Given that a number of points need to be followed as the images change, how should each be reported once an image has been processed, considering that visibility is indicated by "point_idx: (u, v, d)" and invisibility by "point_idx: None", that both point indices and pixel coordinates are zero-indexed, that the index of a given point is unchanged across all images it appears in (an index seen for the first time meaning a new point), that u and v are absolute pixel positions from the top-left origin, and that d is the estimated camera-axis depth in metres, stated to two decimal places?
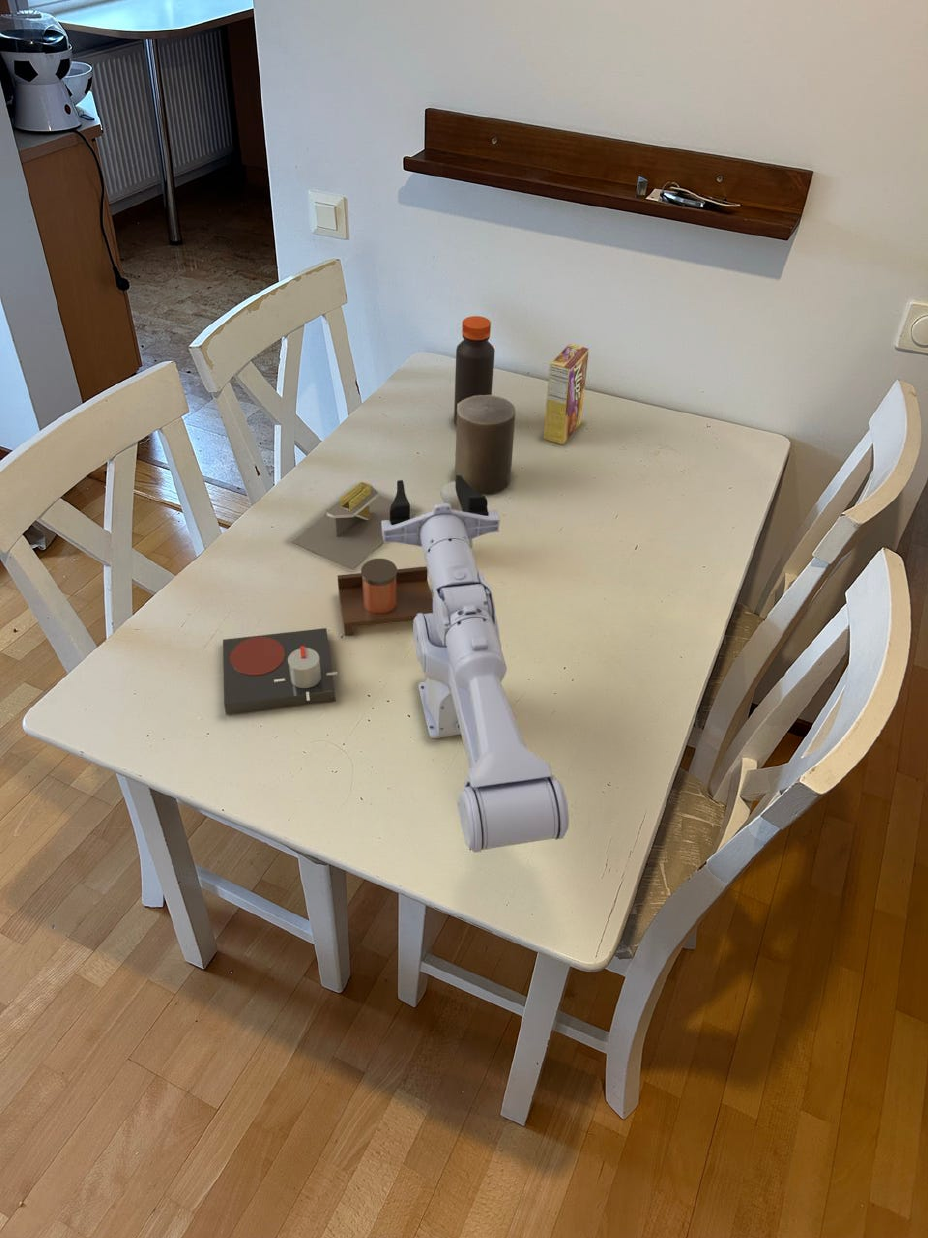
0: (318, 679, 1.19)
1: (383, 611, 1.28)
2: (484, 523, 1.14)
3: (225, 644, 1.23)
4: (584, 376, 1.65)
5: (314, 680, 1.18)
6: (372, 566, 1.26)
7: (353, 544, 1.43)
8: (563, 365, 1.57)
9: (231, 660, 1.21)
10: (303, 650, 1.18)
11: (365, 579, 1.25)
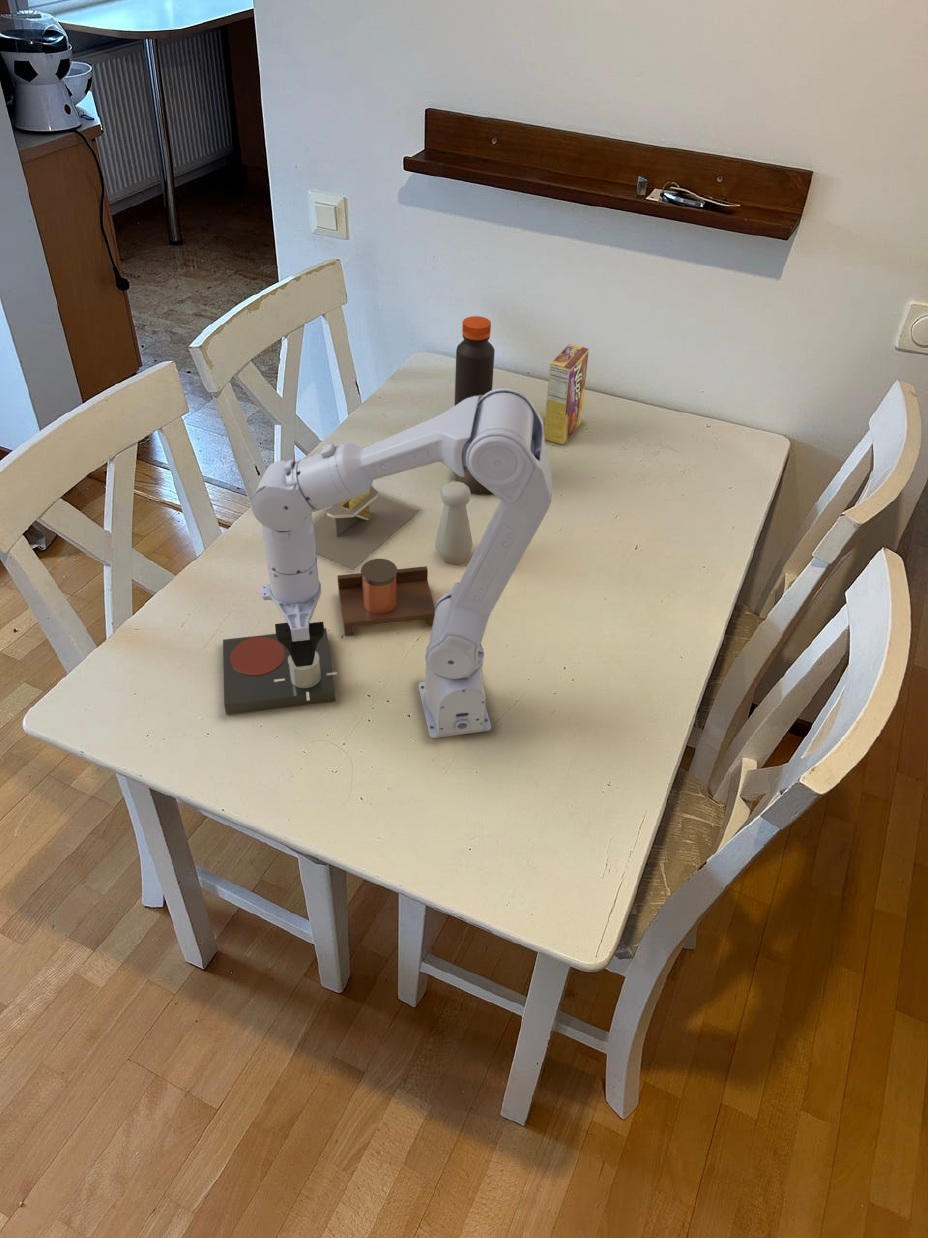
0: (318, 679, 1.19)
1: (383, 611, 1.28)
2: None
3: (225, 644, 1.23)
4: (584, 376, 1.65)
5: (314, 680, 1.18)
6: (372, 566, 1.26)
7: (353, 544, 1.43)
8: (563, 365, 1.57)
9: (231, 660, 1.21)
10: None
11: (365, 579, 1.25)
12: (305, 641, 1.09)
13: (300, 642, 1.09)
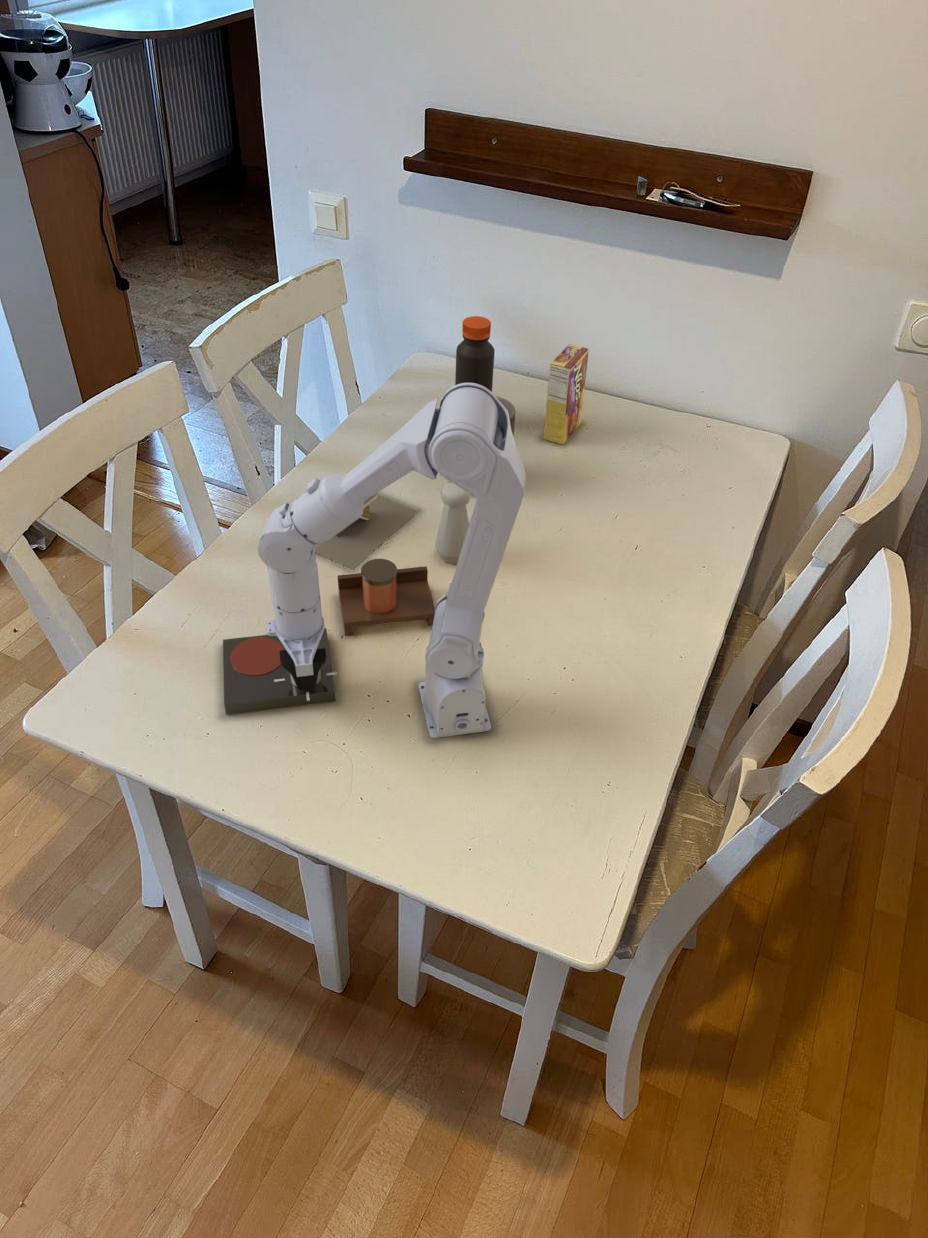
0: (318, 679, 1.19)
1: (383, 611, 1.28)
2: None
3: (225, 644, 1.23)
4: (584, 376, 1.65)
5: None
6: (372, 566, 1.26)
7: (353, 544, 1.43)
8: (563, 365, 1.57)
9: (231, 660, 1.21)
10: None
11: (365, 579, 1.25)
12: None
13: None
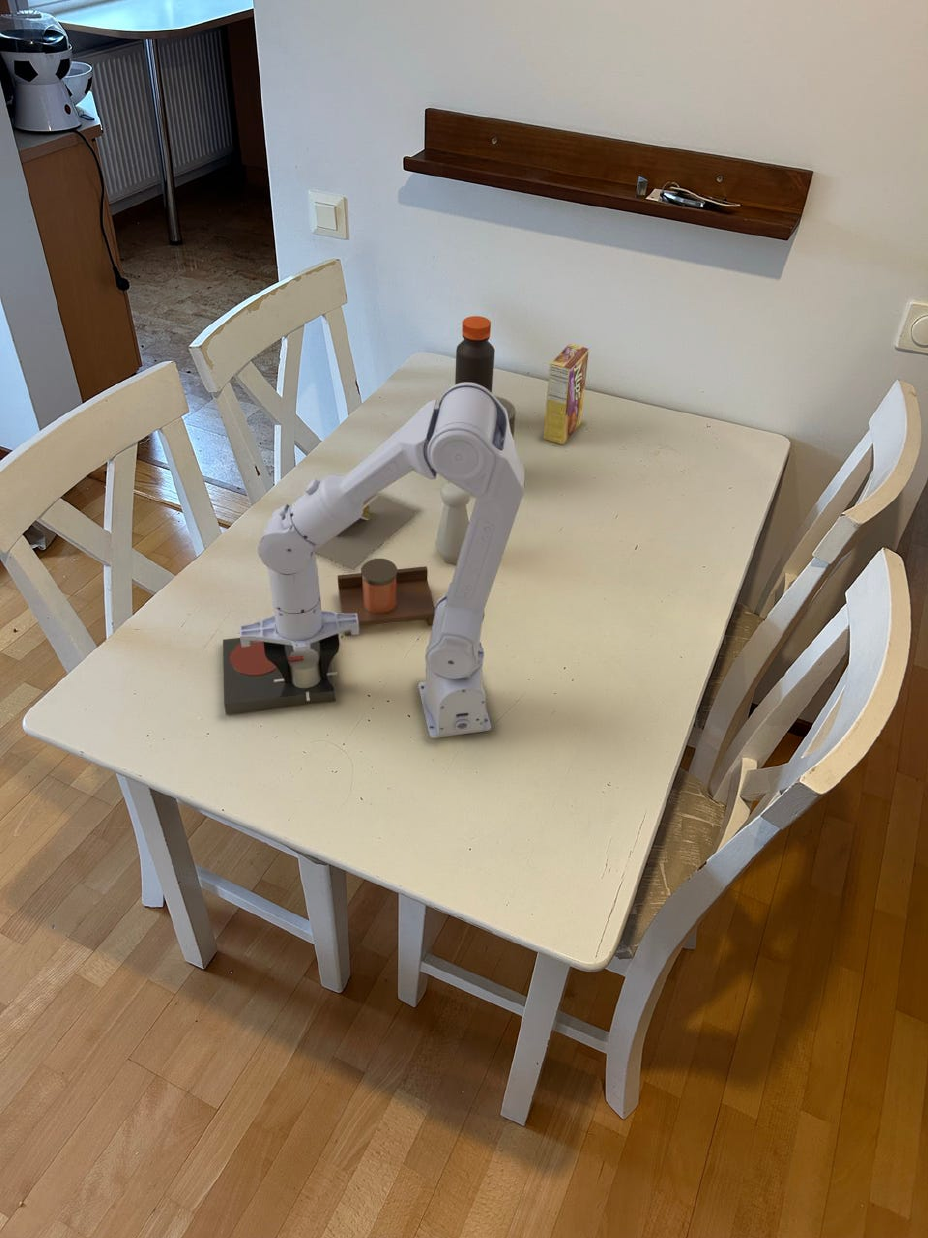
0: None
1: (383, 611, 1.28)
2: (254, 632, 1.12)
3: (225, 644, 1.23)
4: (584, 376, 1.65)
5: None
6: (372, 566, 1.26)
7: (353, 544, 1.43)
8: (563, 365, 1.57)
9: (231, 660, 1.21)
10: (294, 657, 1.17)
11: (365, 579, 1.25)
12: None
13: None
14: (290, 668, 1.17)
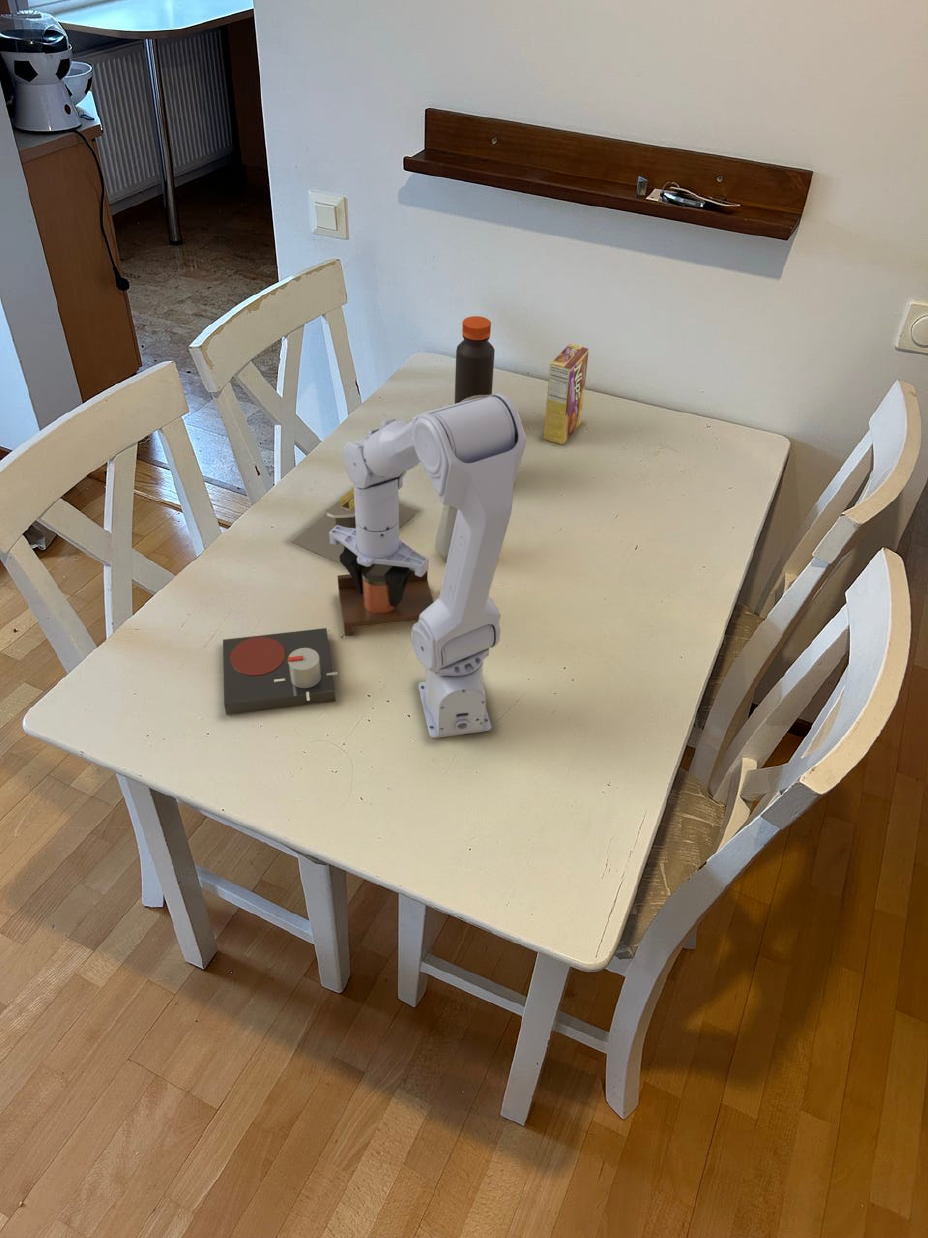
0: None
1: (383, 611, 1.28)
2: (343, 535, 1.25)
3: (225, 644, 1.23)
4: (584, 376, 1.65)
5: None
6: (372, 566, 1.26)
7: None
8: (563, 365, 1.57)
9: (231, 660, 1.21)
10: (294, 657, 1.17)
11: (365, 579, 1.25)
12: None
13: None
14: (290, 668, 1.17)
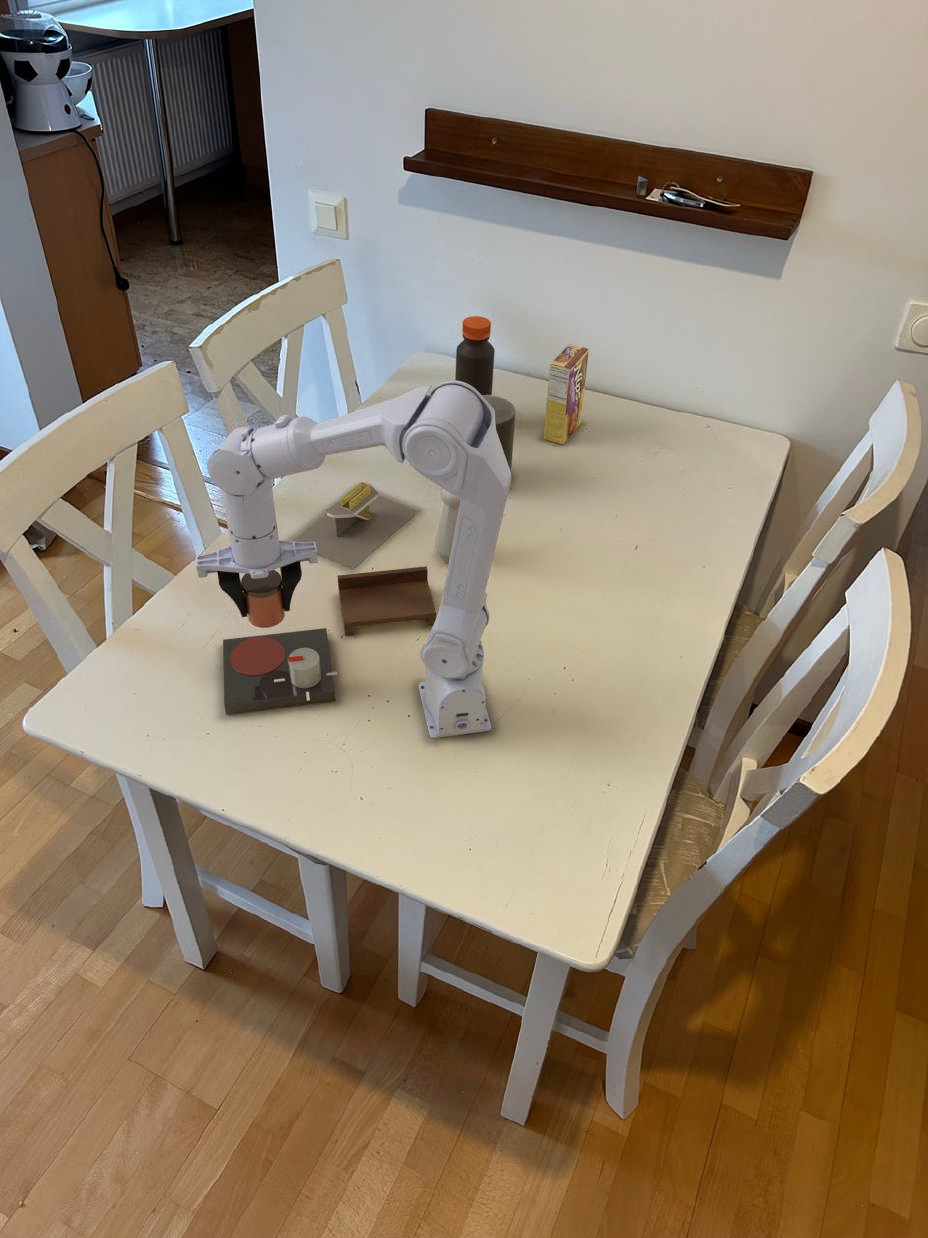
0: None
1: (280, 620, 1.18)
2: (211, 562, 1.11)
3: (225, 644, 1.23)
4: (584, 376, 1.65)
5: None
6: (251, 580, 1.15)
7: (353, 544, 1.43)
8: (563, 365, 1.57)
9: (231, 660, 1.21)
10: (294, 657, 1.17)
11: (257, 594, 1.13)
12: None
13: None
14: (290, 668, 1.17)
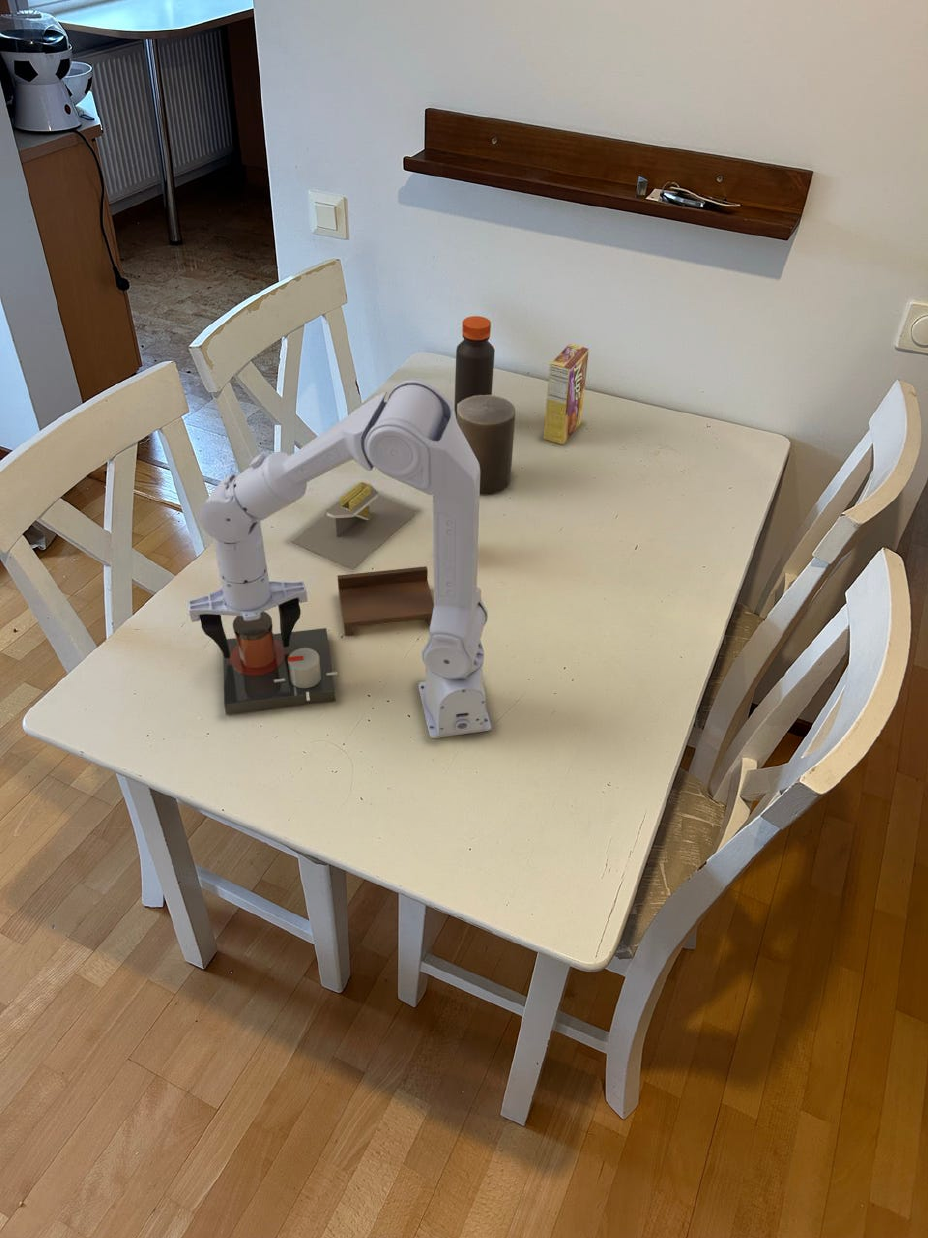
0: None
1: (271, 660, 1.21)
2: (203, 606, 1.14)
3: None
4: (584, 376, 1.65)
5: None
6: (243, 623, 1.18)
7: (353, 544, 1.43)
8: (563, 365, 1.57)
9: (231, 660, 1.21)
10: (294, 657, 1.17)
11: (249, 637, 1.16)
12: None
13: None
14: (290, 668, 1.17)
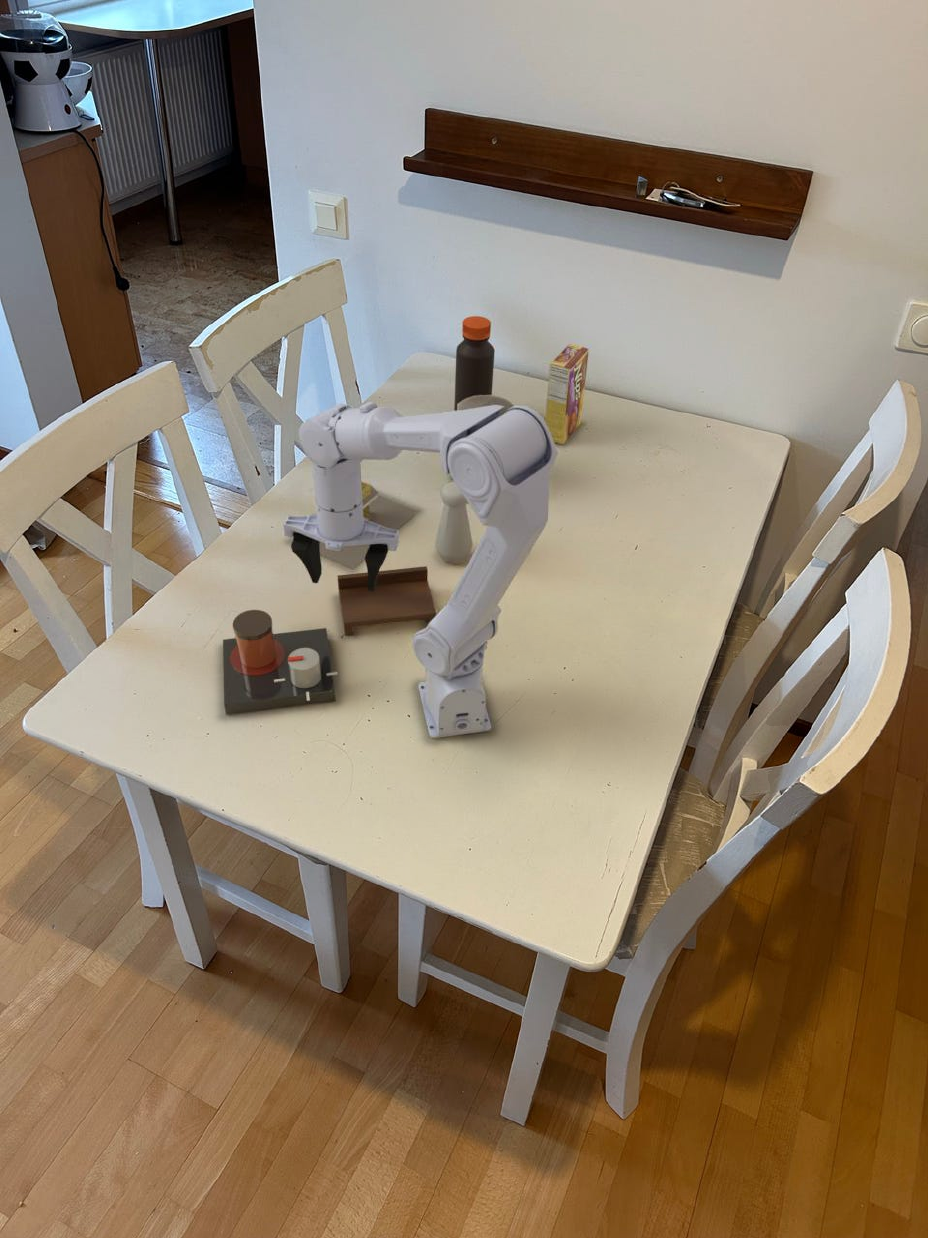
0: None
1: (271, 660, 1.21)
2: (298, 524, 1.16)
3: (225, 644, 1.23)
4: (584, 376, 1.65)
5: None
6: (243, 623, 1.18)
7: None
8: (563, 365, 1.57)
9: (231, 660, 1.21)
10: (294, 657, 1.17)
11: (249, 637, 1.16)
12: None
13: None
14: (290, 668, 1.17)
